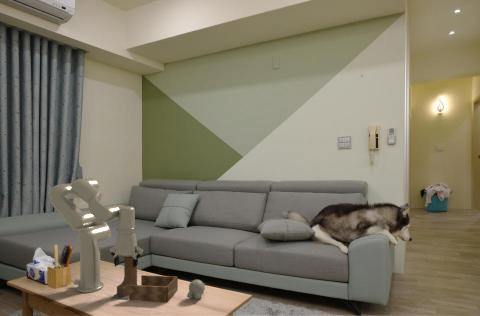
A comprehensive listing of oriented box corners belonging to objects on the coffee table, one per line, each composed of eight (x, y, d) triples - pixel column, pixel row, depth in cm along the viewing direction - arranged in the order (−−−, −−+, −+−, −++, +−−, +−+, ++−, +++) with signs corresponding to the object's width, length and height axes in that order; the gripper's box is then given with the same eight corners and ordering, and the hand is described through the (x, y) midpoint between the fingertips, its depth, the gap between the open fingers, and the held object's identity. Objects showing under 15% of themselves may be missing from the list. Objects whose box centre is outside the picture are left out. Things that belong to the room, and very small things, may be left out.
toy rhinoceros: (208, 299, 157) (211, 281, 160) (198, 299, 147) (201, 280, 150) (195, 297, 160) (198, 279, 163) (184, 297, 150) (187, 278, 153)
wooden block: (122, 297, 154) (122, 260, 154) (116, 295, 157) (116, 258, 157) (137, 291, 162) (137, 255, 162) (131, 289, 164) (131, 254, 164)
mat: (110, 298, 154) (110, 298, 154) (123, 288, 166) (123, 288, 166) (128, 299, 153) (128, 298, 153) (139, 289, 165) (139, 288, 165)
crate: (129, 300, 152) (129, 285, 152) (142, 288, 166) (142, 275, 166) (167, 302, 149) (167, 287, 149) (177, 290, 163) (177, 276, 163)
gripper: (106, 232, 157) (105, 267, 157) (139, 234, 155) (139, 269, 155) (114, 229, 164) (113, 262, 164) (146, 230, 162) (145, 264, 162)
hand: (125, 265), depth 160 cm, fingers open, 9 cm apart
